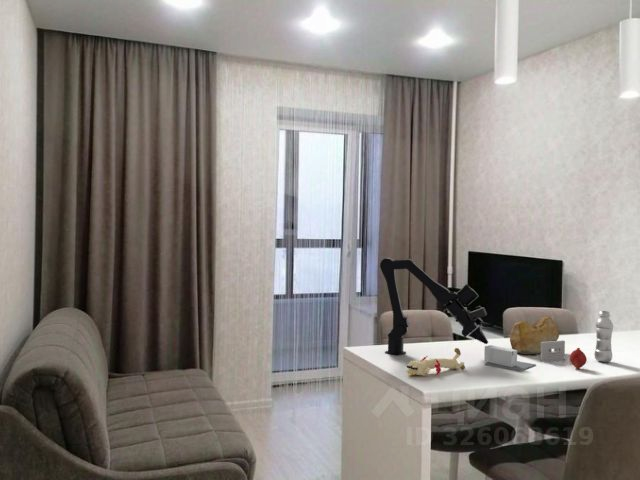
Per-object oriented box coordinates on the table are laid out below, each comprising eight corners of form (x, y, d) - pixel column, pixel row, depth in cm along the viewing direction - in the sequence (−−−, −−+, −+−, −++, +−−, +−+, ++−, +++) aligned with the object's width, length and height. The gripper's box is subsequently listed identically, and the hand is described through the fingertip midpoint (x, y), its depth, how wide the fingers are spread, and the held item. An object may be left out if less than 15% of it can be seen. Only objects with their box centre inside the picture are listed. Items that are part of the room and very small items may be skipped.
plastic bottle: (610, 360, 227) (612, 311, 227) (613, 364, 220) (615, 313, 220) (593, 359, 229) (594, 310, 229) (595, 362, 223) (596, 312, 222)
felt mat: (520, 371, 206) (520, 370, 206) (484, 364, 215) (484, 363, 215) (535, 365, 216) (535, 364, 216) (501, 359, 226) (501, 358, 226)
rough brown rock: (534, 347, 256) (532, 314, 256) (565, 351, 241) (562, 316, 242) (496, 353, 245) (494, 318, 246) (526, 357, 230) (523, 320, 231)
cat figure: (448, 369, 213) (398, 371, 199) (450, 345, 213) (400, 346, 200) (469, 375, 205) (418, 377, 191) (471, 350, 205) (420, 351, 191)
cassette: (561, 359, 229) (562, 340, 229) (565, 360, 227) (566, 341, 227) (539, 361, 224) (539, 341, 224) (542, 362, 222) (543, 342, 222)
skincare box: (490, 359, 222) (517, 366, 213) (483, 361, 219) (511, 368, 210) (490, 344, 222) (518, 350, 213) (483, 345, 219) (511, 351, 210)
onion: (566, 366, 215) (566, 345, 215) (580, 366, 215) (581, 345, 215) (574, 370, 209) (574, 349, 209) (589, 370, 210) (589, 349, 209)
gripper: (471, 302, 215) (500, 334, 211) (477, 297, 232) (505, 326, 228) (449, 321, 218) (478, 352, 214) (458, 315, 236) (484, 344, 231)
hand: (487, 343), depth 222 cm, fingers closed
